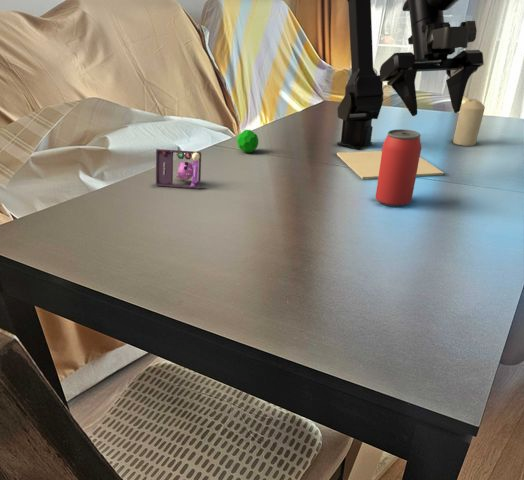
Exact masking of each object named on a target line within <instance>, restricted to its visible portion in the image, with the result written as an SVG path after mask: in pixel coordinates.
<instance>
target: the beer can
mask: <svg viewBox="0 0 524 480" xmlns="http://www.w3.org/2000/svg"><path fill="white" fill-rule="evenodd" d="M381 151H382V155H381V162H380V169H379V176H378V178H377V183H376V184H377V185H376V190H375V200H376V201H377V202H378V203H380V204H382V205H383V206H384V205H385V206H389V207H404V206H407V205H409V204H410V203H411V202H412V201H413V200H412V199H413V194H414V190H415V185H416V178H417V176H416V174H417V168H418V163H419V158H420V157H421V151H422V142H421V133H420V132H418V131H416V130H412V129H399V128H398V129H392V130H389V131H388V132H387V135H386V137H385V139H384V141H383V144H382V149H381Z"/></svg>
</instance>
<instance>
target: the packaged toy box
mask: <svg viewBox="0 0 524 480" xmlns="http://www.w3.org/2000/svg"><path fill="white" fill-rule="evenodd" d="M174 153H175V154H176V153H177V154H176V156H177V158H178V160H183V159H184V158H185V160H191V158H192V160H193V162H192V161H182V162H179V163H178V165H179V166H178V168H177V169H178V170H177V171H176V174H177V176H176V178H178V179H179V180H181V181H189V180H191V179H192V181H191V182H190V185H183V184H173V183H174V182H173V180H174V179H173V178H174ZM201 174H202V152H201V151H192V150H191V151H190V150H180V149H179V150H176V149H163V148H161V149H160V148H157V149H156V150H155V185H156V186H157V187H159V186H160V187H171V188H172V187H173V188H185V189H186V188H188V189H201V178H202V177H201V176H202V175H201ZM195 184H197V186H196V185H195Z"/></svg>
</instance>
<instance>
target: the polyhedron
mask: <svg viewBox="0 0 524 480" xmlns="http://www.w3.org/2000/svg"><path fill="white" fill-rule="evenodd" d="M236 144H237V147H238V149H240V150H241V151H242V152H243V153H245V154H250V153H252V152H253V151H255V150H256V149H257V148H258V146H259V136H258V135H257V134H256V132H254V131H252V130H251V129H244V130H242V132H240V133H239V134H238V135H237V137H236Z"/></svg>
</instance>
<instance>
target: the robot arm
mask: <svg viewBox="0 0 524 480" xmlns="http://www.w3.org/2000/svg"><path fill="white" fill-rule="evenodd" d="M346 1H347V5H348V6H347V7H348V23H349V24H348V25H349V45H350V48H349V49H350V63H351V64H350V65H351V74H350V76H349V79H348V80H347V83H346V85H345V89H344V96H343V98H342V99H341V101H340V103H339V105H338V107H337V108H336V109H337V118H339V119H341V120H342V126H341V135H340V136H341V137H340V141H339V142H337V143H336V145H337V146H341V147H346V148H351V149H355V150H361V149H364V148H367V147H370V146H371V145H373V141H372V135H373V125H372V123H373V120H378V119H379V116H380V113H381V109H382V106H383V103H384V95H385V94H384V87H383V83H385V82H386V85H387V86H388V87H391V88H392V89H393V90H394V91H395V93H396V94H397V95H398V96H399V98H400V99H401V101H402V103H403V104H404V105H405V107H406V108H407V110H408V112H409V113H410V115H411V116H412V117H416V116H417V115H418V100H417V91H416V77H417V74H418V72H437V71H438V72H439V71H445V73H446V75H447V76H448V77H449V78H447V79H446V80H445V81H446V82H445V83H446V87H447V91H448V94H449V98H450V104H451V107H452V110H453V112H454V114H457V113H458V114H459V113H460V108H461V105H462V104H463V98H464V96H465V91H466V89H467V88H466V86H467V85H468V81H469V79H470V78H471V76H472V74H474V73H476V72H478V69H479V68H481V67H482V66H484V65H485V62H484V61H485V60H484V53H483V52H482V51H481V50H479V49H467V48H468V44H469V43H473V42H475V41H476V38H477V31H478V30H477V24H476V20H466V21H461V22H460V25H459V26H451V23H450V22H449V21H448V22H447V21H446V22H445V16H444V11H447V10H450V9H451V8H452V7H453V6H454V5H456V3H457V2H459V1H460V0H405V2H404V3H403V5H402V11H403V12H409V20H410V21H409V22H410V30H411V35H410V37H408V38H407V43H408V45H412V48H413V49H412V50H413V52H410V51H407V52H394V53H393V54H391V56H390V57H389V58H387V59H386V60H385V61H383V63H382V64H381V65H380V67H379V75H377V73H376V70H374V54H373V53H374V51H373V49H374V48H373V26H372V25H373V24H372V0H346ZM458 48H462V49H464V50H462V51H460V52H459V53H458V54H456V55H455V56H454V57H448V56H449V55H453V54H454V53H455V52H456V49H458Z"/></svg>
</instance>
